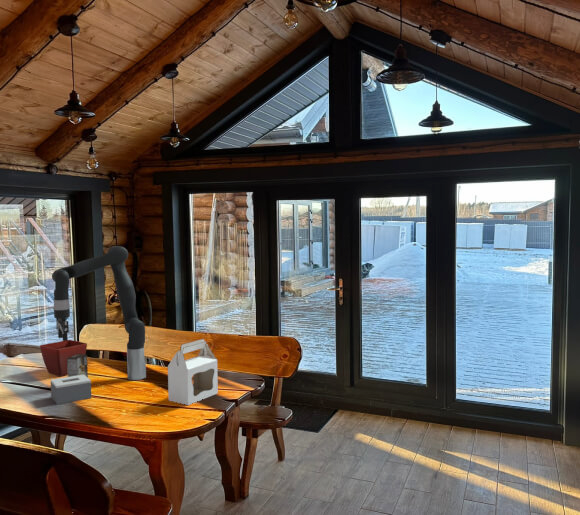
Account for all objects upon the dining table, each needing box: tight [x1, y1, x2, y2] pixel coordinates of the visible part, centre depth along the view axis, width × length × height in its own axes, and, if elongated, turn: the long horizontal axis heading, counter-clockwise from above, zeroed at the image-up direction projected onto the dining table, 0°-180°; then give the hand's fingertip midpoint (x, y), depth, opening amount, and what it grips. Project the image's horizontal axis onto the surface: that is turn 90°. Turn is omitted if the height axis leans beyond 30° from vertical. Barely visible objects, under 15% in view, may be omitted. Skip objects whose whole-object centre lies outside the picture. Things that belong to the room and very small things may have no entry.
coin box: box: [50, 374, 92, 405], centre depth 266 cm, size 16×13×9 cm
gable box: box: [167, 338, 219, 406], centre depth 266 cm, size 22×13×28 cm, turn 147°
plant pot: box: [39, 339, 88, 377], centre depth 311 cm, size 19×19×17 cm
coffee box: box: [67, 354, 89, 378], centre depth 286 cm, size 9×6×16 cm
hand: (62, 339), depth 275 cm, fingers open, 8 cm apart
